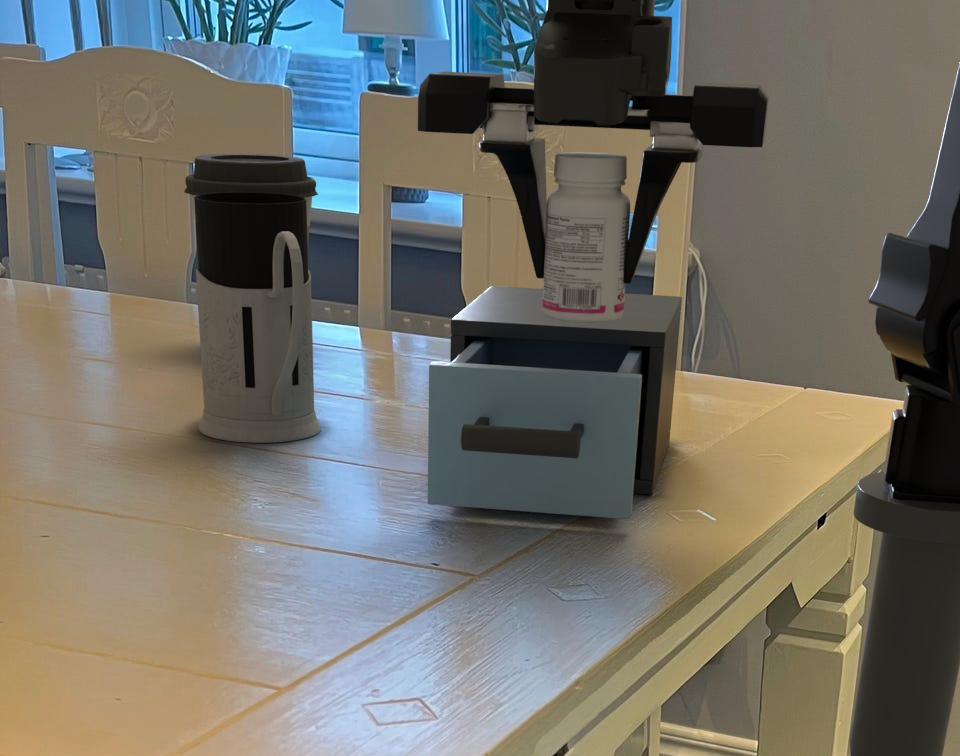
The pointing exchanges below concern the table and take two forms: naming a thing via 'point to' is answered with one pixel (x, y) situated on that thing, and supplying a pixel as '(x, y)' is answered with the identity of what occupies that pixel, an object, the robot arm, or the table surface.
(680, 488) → the table surface
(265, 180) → the coffee cup
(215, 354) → the glass holder
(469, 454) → the drawer
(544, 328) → the cabinet
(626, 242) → the pill bottle
